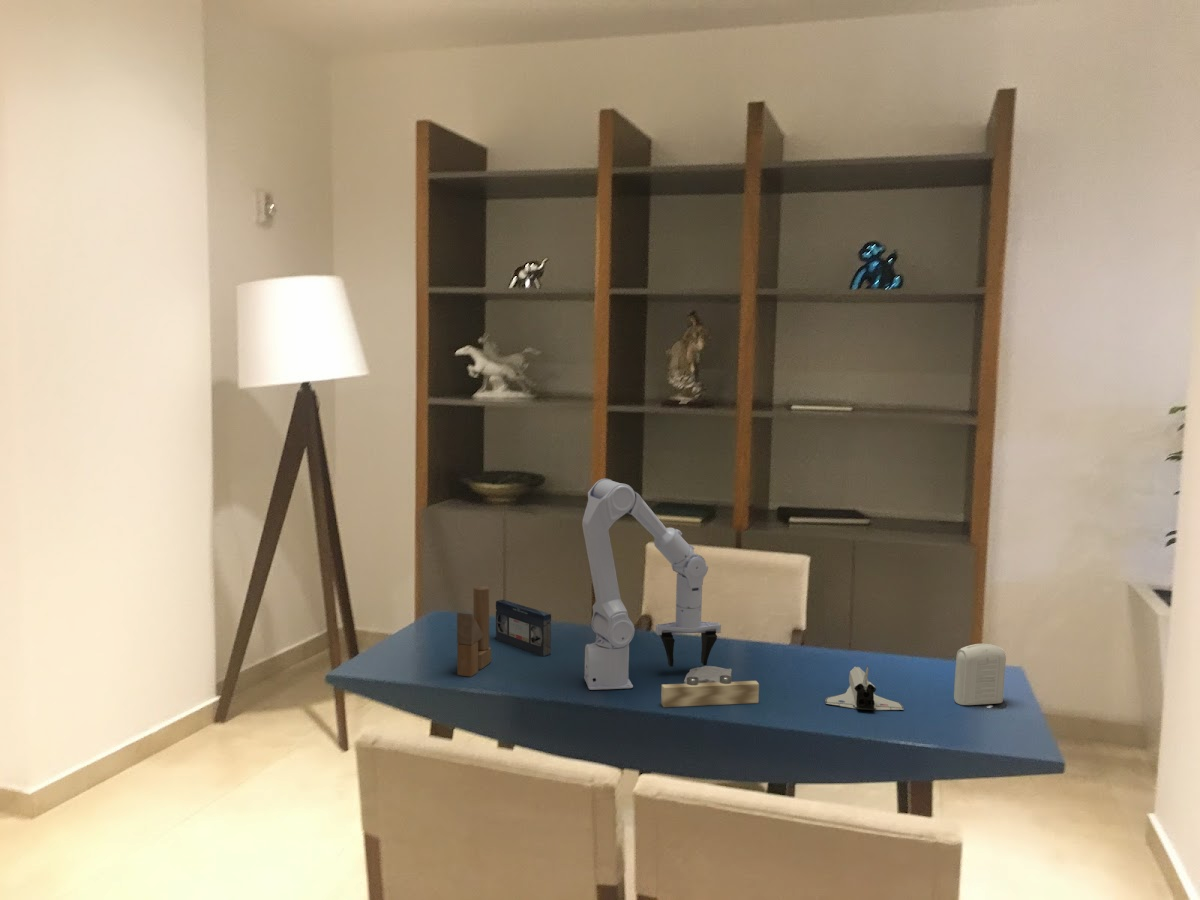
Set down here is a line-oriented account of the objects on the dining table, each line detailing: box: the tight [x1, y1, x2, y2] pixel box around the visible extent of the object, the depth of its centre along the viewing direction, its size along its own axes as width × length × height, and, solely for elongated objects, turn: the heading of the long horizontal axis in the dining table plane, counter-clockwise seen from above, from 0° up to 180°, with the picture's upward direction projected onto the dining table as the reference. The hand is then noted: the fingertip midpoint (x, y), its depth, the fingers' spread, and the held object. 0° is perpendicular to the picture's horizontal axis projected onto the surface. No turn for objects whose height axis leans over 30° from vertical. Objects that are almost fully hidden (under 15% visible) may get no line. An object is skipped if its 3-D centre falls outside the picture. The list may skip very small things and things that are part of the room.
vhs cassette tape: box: [495, 599, 552, 657], centre depth 229 cm, size 18×3×10 cm, turn 43°
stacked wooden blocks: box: [456, 585, 492, 677], centre depth 211 cm, size 4×11×18 cm, turn 163°
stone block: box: [683, 665, 733, 684], centre depth 202 cm, size 12×5×10 cm
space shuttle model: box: [824, 665, 905, 711], centre depth 201 cm, size 16×25×10 cm, turn 170°
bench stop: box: [660, 675, 760, 708], centre depth 194 cm, size 20×3×5 cm, turn 99°
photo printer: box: [953, 643, 1007, 706], centre depth 196 cm, size 10×4×12 cm, turn 103°
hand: (687, 664), depth 212 cm, fingers open, 7 cm apart
